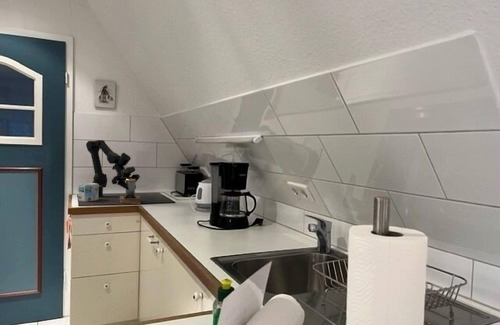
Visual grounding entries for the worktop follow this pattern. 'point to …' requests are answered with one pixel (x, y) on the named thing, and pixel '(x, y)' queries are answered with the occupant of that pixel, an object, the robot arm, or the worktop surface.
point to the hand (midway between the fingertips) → (131, 189)
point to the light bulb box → (88, 192)
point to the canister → (130, 188)
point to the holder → (130, 200)
